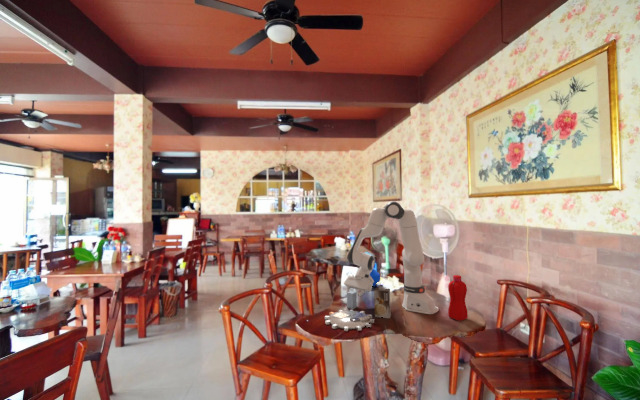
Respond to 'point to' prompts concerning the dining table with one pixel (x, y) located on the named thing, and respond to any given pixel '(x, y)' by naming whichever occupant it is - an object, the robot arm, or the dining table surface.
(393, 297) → the dining table surface
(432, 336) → the dining table surface
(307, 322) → the dining table surface
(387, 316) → the coffee box
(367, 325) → the sprocket
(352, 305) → the drive pin
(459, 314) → the water bottle
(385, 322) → the dining table surface
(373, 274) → the vase
